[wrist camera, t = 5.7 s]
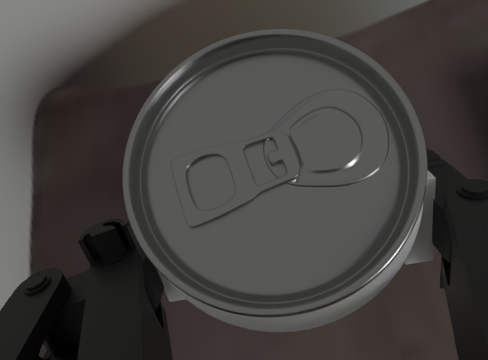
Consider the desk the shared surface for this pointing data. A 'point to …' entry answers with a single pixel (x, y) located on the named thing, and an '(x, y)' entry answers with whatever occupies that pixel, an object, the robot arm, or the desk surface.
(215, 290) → the can
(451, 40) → the desk surface
